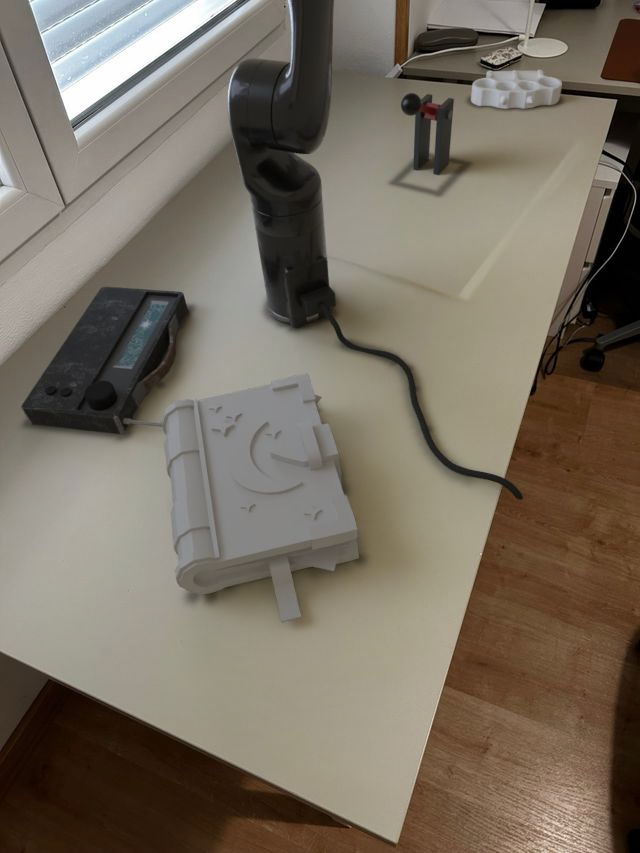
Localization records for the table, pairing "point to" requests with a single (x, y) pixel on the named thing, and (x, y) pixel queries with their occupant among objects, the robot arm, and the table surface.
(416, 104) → the lever
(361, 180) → the table surface
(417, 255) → the table surface
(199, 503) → the book
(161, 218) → the table surface
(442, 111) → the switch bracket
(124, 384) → the radio
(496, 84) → the white muffin tray
